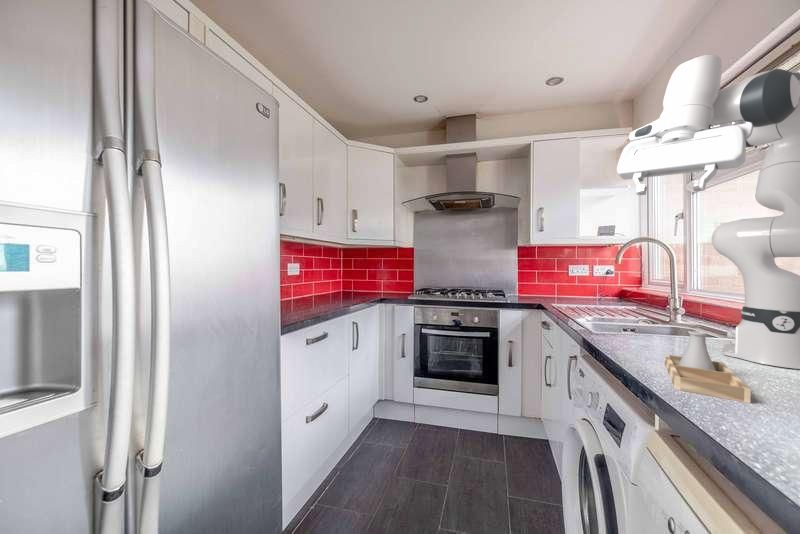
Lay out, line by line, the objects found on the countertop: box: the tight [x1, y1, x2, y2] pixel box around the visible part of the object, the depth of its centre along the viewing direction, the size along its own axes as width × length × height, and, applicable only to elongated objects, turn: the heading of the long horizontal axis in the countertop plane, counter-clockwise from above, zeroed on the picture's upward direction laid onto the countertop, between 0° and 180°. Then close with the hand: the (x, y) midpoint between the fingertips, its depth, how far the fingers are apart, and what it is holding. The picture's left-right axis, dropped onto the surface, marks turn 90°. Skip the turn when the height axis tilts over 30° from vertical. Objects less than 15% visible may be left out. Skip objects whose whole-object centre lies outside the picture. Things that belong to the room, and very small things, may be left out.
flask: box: [678, 330, 716, 371], centre depth 74 cm, size 7×7×10 cm
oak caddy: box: [664, 354, 752, 404], centre depth 70 cm, size 20×11×2 cm, turn 145°
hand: (667, 192), depth 66 cm, fingers open, 8 cm apart
